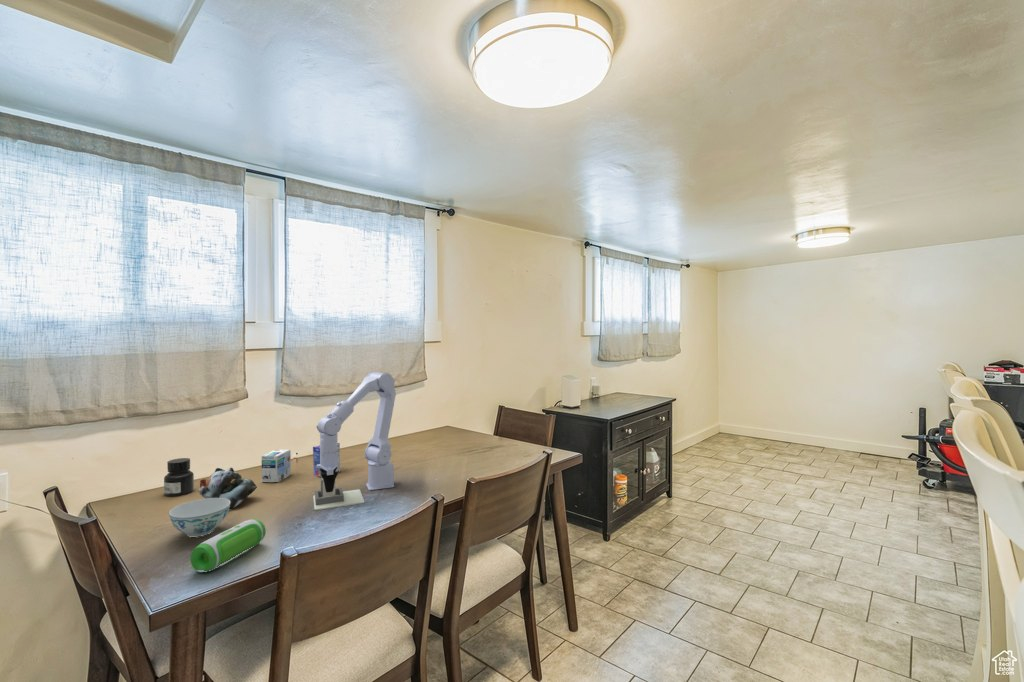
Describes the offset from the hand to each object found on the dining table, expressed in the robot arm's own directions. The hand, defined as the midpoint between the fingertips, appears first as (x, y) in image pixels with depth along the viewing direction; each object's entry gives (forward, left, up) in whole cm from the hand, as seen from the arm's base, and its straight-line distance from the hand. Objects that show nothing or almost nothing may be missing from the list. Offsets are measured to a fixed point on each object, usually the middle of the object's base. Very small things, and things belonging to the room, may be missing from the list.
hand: (329, 489), depth 161 cm
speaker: (+26, +33, -4) cm, 42 cm away
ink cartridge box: (-1, -34, -4) cm, 34 cm away
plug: (0, 0, -2) cm, 2 cm away
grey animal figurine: (+32, -11, -4) cm, 34 cm away
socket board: (-3, +1, -4) cm, 5 cm away
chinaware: (+36, +12, -4) cm, 38 cm away
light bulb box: (+18, -35, -4) cm, 40 cm away
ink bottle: (+50, -32, -4) cm, 60 cm away
